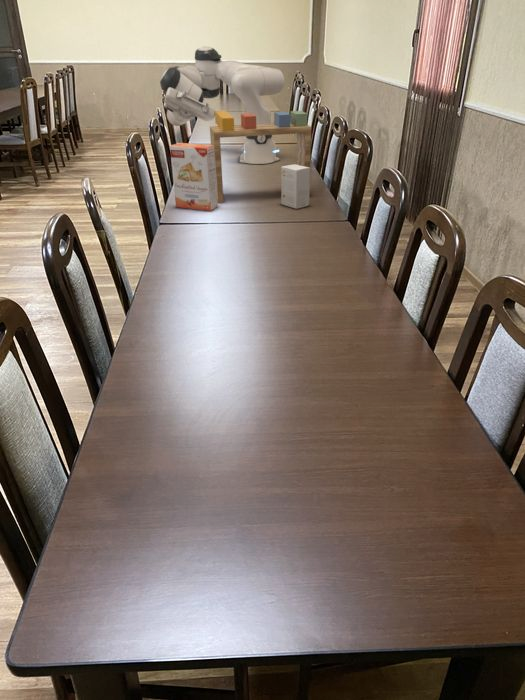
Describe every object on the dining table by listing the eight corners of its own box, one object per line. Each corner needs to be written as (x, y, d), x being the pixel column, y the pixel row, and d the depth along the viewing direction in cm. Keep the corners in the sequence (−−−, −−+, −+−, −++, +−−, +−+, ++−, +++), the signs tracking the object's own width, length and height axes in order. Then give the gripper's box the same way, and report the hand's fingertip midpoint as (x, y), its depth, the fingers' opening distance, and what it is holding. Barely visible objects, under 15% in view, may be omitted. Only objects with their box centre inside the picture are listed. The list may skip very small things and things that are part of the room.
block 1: (241, 125, 191) (240, 113, 189) (252, 125, 191) (251, 113, 189) (245, 129, 184) (244, 116, 182) (256, 128, 185) (256, 116, 183)
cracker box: (175, 208, 188) (168, 145, 177) (183, 203, 193) (177, 142, 182) (210, 211, 184) (206, 147, 173) (218, 207, 188) (214, 144, 178)
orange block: (215, 122, 198) (214, 111, 196) (226, 122, 199) (225, 110, 197) (222, 131, 181) (221, 118, 179) (234, 130, 182) (233, 117, 180)
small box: (309, 205, 188) (310, 167, 181) (296, 209, 184) (296, 170, 178) (294, 201, 193) (294, 163, 186) (280, 204, 190) (280, 166, 183)
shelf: (214, 194, 203) (209, 126, 191) (301, 188, 208) (302, 121, 196) (218, 202, 193) (213, 131, 181) (309, 196, 198) (311, 126, 186)
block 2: (274, 124, 193) (274, 112, 191) (285, 123, 193) (285, 111, 191) (279, 127, 186) (279, 114, 184) (290, 126, 187) (290, 114, 185)
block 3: (290, 123, 194) (290, 111, 192) (301, 122, 194) (301, 110, 192) (295, 126, 187) (296, 114, 185) (307, 126, 188) (307, 113, 186)
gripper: (206, 127, 221) (218, 120, 208) (159, 104, 211) (169, 95, 199) (211, 112, 221) (223, 104, 208) (164, 89, 211) (174, 79, 199)
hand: (196, 99), depth 204 cm, fingers open, 8 cm apart
